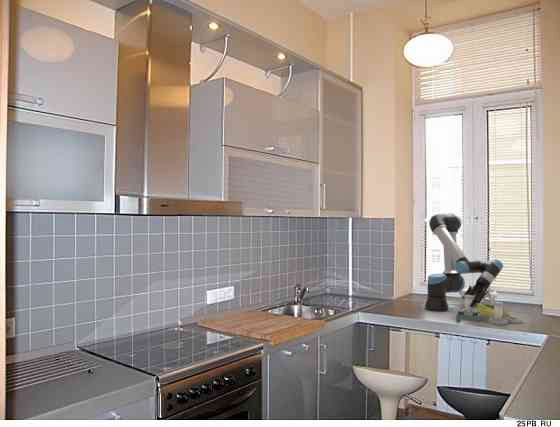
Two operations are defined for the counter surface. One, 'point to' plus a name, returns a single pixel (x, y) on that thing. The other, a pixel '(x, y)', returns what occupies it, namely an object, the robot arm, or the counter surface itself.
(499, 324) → the fuse block
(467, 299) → the marked fuse
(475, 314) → the tray
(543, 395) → the counter surface
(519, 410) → the counter surface
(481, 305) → the plastic component
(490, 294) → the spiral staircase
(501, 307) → the plain fuse
